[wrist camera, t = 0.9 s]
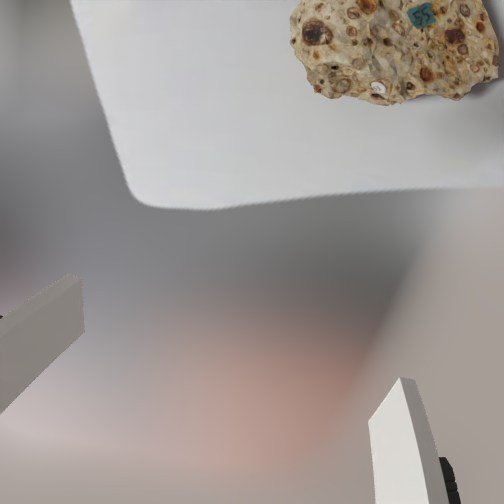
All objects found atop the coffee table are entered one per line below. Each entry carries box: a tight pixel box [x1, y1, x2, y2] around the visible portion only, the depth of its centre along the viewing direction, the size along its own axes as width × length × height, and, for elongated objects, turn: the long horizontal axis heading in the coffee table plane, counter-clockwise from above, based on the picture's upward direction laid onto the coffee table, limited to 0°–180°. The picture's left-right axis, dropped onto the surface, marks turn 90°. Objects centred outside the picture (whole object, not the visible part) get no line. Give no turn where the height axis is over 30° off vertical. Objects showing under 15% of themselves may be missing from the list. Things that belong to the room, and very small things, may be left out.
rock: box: [290, 0, 499, 106], centre depth 20 cm, size 21×14×10 cm
